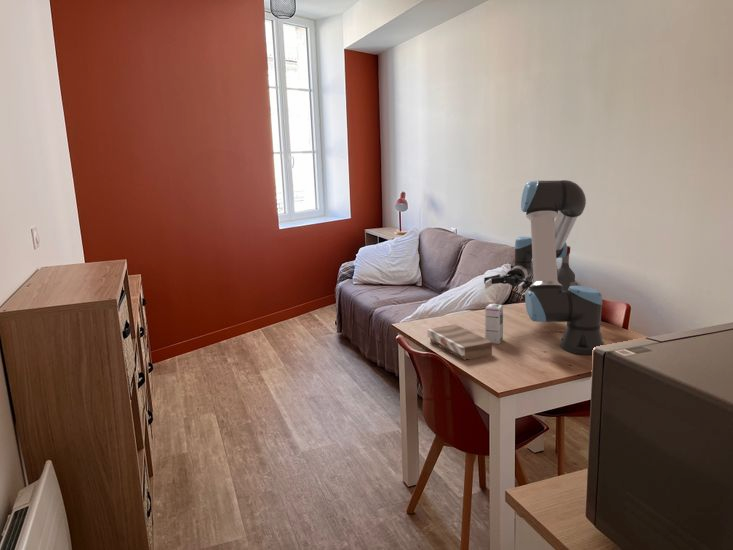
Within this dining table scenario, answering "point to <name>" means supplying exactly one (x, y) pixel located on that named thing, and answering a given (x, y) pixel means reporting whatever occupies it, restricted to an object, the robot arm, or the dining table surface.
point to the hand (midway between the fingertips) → (502, 287)
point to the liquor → (566, 273)
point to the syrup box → (494, 323)
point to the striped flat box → (461, 341)
